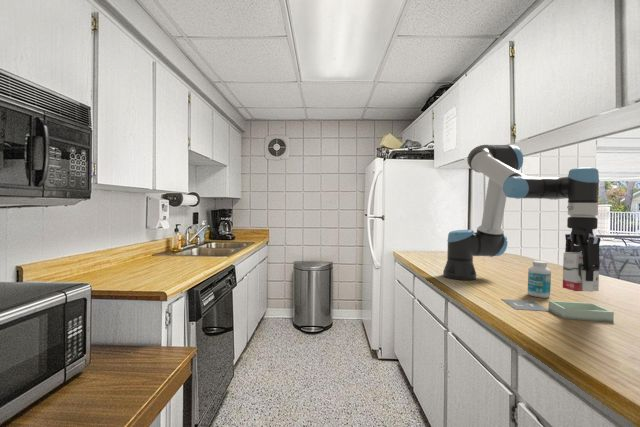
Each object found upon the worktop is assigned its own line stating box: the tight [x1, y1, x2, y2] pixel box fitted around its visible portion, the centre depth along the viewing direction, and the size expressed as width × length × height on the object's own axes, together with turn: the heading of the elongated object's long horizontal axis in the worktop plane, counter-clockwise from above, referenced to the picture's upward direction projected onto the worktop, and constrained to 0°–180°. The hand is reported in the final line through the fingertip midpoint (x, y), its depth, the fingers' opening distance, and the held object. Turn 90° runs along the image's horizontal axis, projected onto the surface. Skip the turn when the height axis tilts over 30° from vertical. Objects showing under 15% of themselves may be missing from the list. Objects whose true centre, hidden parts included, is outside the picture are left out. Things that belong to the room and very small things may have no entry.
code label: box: [501, 298, 551, 312], centre depth 115 cm, size 12×11×1 cm
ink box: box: [562, 251, 601, 292], centre depth 104 cm, size 9×5×12 cm, turn 97°
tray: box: [548, 300, 615, 323], centre depth 104 cm, size 9×13×3 cm
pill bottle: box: [527, 260, 552, 299], centre depth 128 cm, size 8×7×14 cm
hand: (580, 288), depth 104 cm, fingers closed on ink box, 6 cm apart
